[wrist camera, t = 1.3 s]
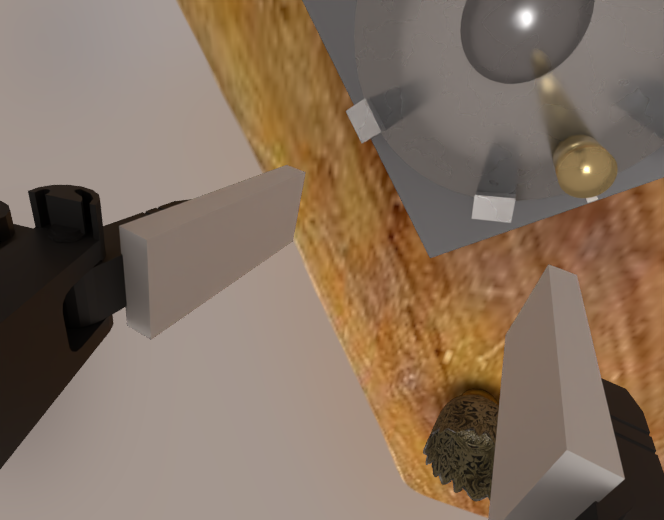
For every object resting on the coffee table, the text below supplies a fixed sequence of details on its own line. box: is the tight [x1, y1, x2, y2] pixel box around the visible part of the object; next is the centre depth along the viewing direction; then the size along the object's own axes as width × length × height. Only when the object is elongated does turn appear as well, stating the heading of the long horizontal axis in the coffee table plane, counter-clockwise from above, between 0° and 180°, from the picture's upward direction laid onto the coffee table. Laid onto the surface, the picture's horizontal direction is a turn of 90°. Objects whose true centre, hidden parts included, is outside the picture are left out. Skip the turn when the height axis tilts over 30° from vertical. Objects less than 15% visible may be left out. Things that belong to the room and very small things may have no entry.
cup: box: [423, 389, 499, 501], centre depth 34 cm, size 8×7×8 cm
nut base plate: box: [302, 0, 664, 258], centre depth 24 cm, size 24×24×2 cm
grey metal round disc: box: [346, 0, 664, 223], centre depth 20 cm, size 20×22×8 cm
